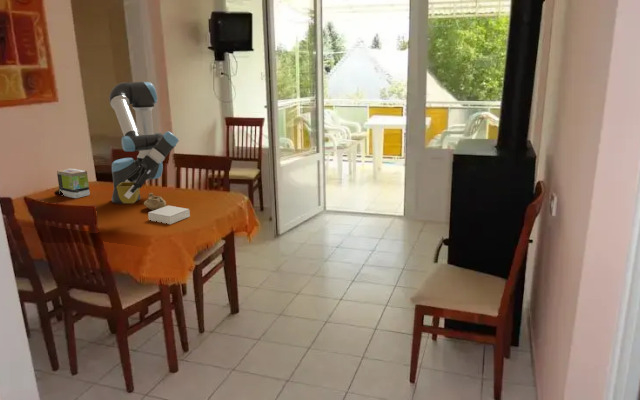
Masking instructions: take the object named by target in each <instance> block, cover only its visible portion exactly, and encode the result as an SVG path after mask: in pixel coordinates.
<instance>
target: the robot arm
mask: <svg viewBox="0 0 640 400" xmlns="http://www.w3.org/2000/svg"><path fill="white" fill-rule="evenodd" d="M157 95H158V93H157V91H156V88H155V86H154V84H153V83H152V82H150V81H136V82H133V81H132V82H131V81H129V82H124V81H123V82H120V83H117V84H116V85H114V87H113V88H112V89H111V91H110V93H109V95H108V96H109V98H108V100H109V104H110V107H111V108H112V109H113V110H114V112H115V116H116V117H117V121H118V125H119V126H120V130H121V132H122V134H123V136H122V137H121V142H120V143H121V148H122V150H123V151H124V152H138V155H137V156H136V159H134V158H133V157H124V158H120V159H115V160H114V161H113V162H112V163H111V174H112V182H113V183H112V184H113V192H112V196H111V202H112V203H114V204H119V205H120V204H121V205H123V204H126V205H127V203H123V202H122V201H121V200H120V198H119V195H118V191H117V186H118V185H119V184H120V183H122V182H135V183H133V185H132V186H131V188H130V189H129V190H128V191H127V192H126V193H125V195H124V196H125V197H127V198H128V199H129V198H130V197H131V196H132V195H133V194H134V192H135V191H136V190H137V189H138V188H140V189H141V188H142V187H143V186H144V184H145V182H146V181H148V180H156V179H160V178H161V177H162V174H163V170H164V166H163V161H165V159H166V157H168V155H169V154H170V153H171V152H172V150H173V149H175V147H176V146H177V144H178V143H179V141H180V140H179V138H178V137H177V136H176V135H174V133H172V132H171V131H166V132H165V133H164V134H163V133H161V132H160V133H159V132H156V133H154V131H155V130H154V122H153V113H152V112H153V111H152V110H153V109H154V108H155V105H156V104H157V103H158V96H157ZM130 105H131V107H130ZM131 108H132V109H133V110H134V111H135V118H134V116H133V113H132V111H131V110H132V109H131ZM141 198H142V197H141V194H140V193H139V196H138V199H137V201H135V203H137V202H138V201H140V200H141Z"/></svg>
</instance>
